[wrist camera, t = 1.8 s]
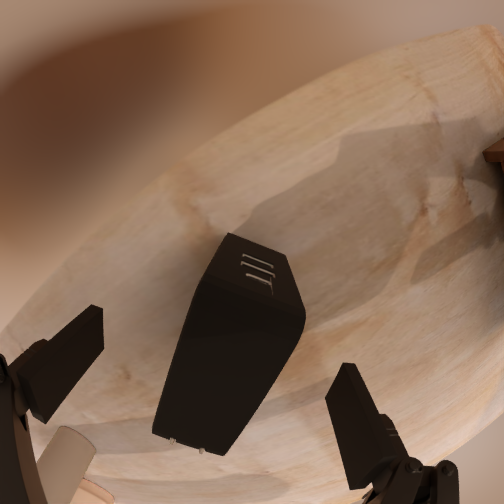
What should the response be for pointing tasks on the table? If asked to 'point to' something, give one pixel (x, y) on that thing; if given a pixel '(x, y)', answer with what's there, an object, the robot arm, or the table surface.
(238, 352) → the electronic device
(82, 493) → the vase
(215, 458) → the table surface
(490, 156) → the shelf
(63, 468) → the bottle
